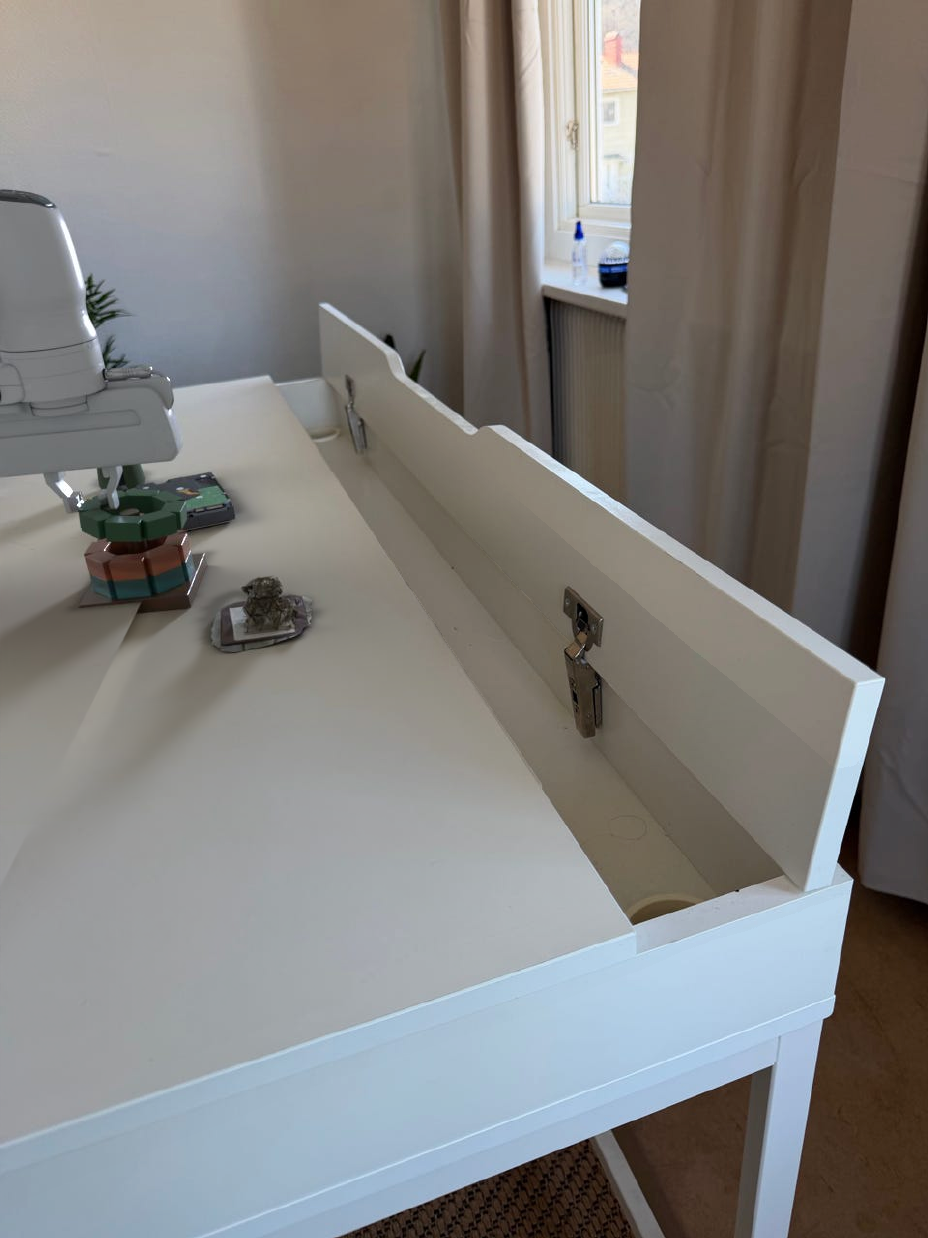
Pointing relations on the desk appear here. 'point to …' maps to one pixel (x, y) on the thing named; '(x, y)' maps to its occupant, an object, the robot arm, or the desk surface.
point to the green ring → (160, 521)
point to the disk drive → (198, 499)
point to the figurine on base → (260, 617)
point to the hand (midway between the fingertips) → (93, 509)
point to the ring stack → (144, 572)
